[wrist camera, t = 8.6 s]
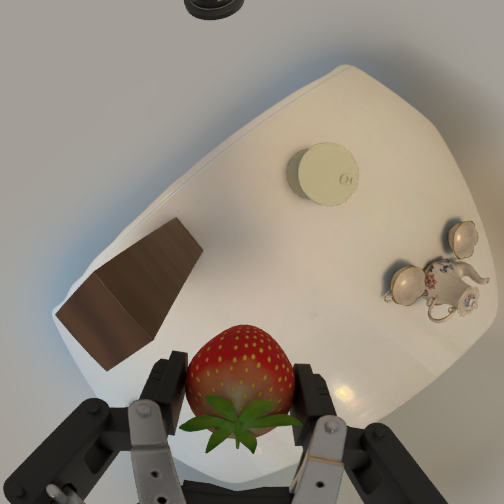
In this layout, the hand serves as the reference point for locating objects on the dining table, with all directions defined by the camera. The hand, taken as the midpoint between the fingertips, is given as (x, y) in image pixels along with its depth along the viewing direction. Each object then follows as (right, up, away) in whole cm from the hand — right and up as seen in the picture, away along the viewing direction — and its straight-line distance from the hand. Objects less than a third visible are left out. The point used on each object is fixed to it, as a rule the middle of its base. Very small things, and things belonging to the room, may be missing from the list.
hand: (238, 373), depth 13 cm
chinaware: (+41, +2, +41) cm, 58 cm away
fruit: (0, +1, +4) cm, 4 cm away
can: (+11, +20, +36) cm, 42 cm away
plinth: (-14, +7, +39) cm, 42 cm away
